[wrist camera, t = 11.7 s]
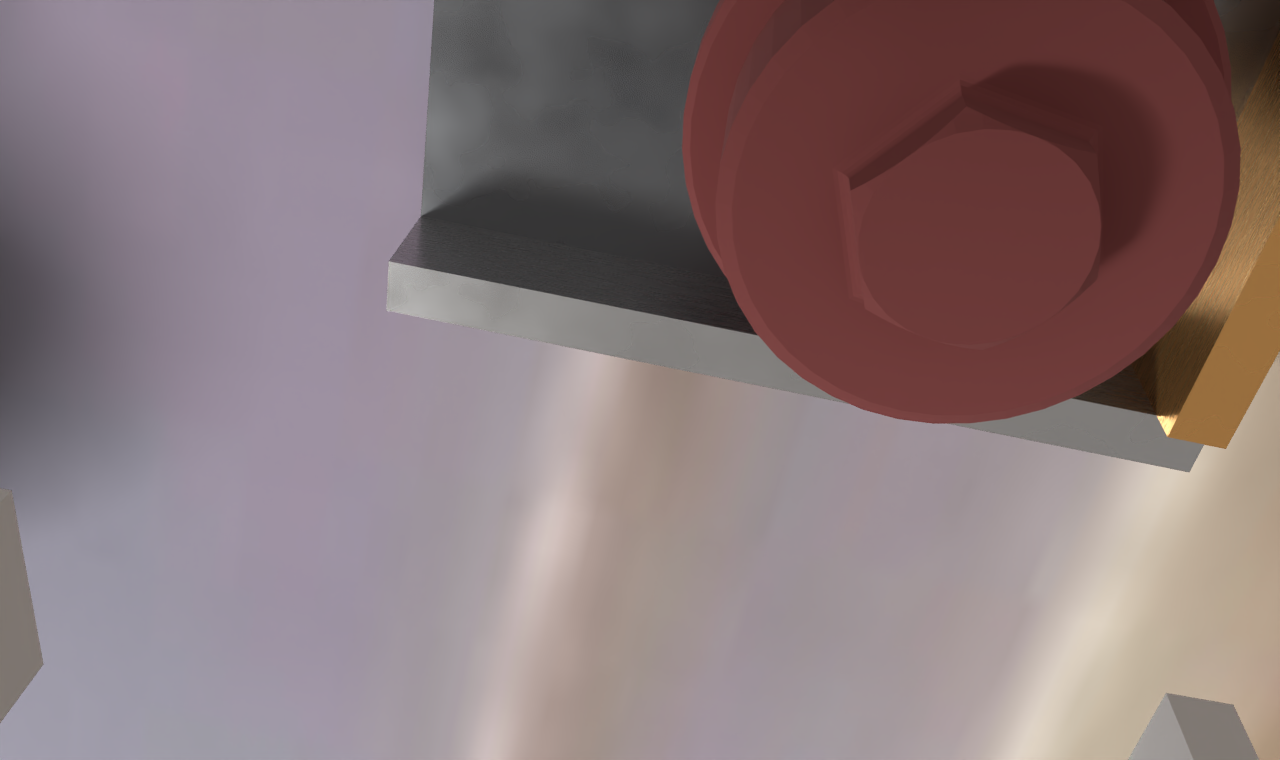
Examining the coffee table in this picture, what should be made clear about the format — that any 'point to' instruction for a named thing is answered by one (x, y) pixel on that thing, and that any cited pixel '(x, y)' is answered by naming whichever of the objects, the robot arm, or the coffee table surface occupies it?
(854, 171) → the mechanical component
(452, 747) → the coffee table surface
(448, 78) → the grey piece
